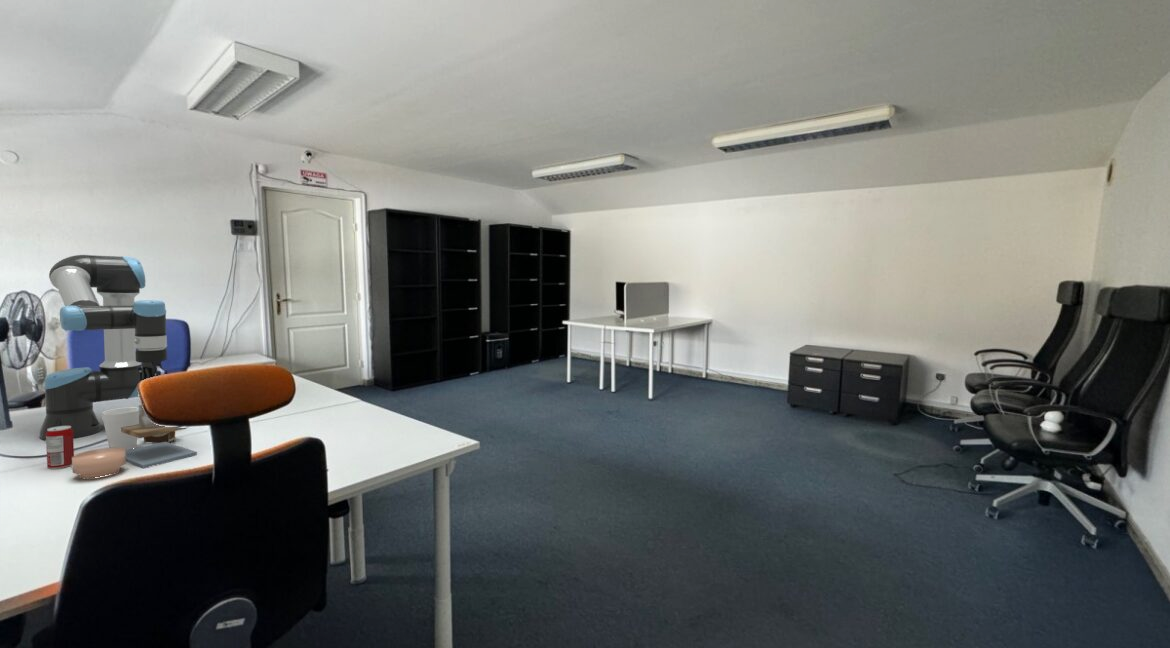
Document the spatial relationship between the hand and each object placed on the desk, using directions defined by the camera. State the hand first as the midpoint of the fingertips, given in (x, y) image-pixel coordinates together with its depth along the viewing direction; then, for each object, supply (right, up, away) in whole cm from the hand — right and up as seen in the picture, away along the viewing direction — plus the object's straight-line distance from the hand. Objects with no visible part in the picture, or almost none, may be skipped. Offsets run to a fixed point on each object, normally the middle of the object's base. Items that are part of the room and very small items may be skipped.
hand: (153, 420), depth 156 cm
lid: (0, -3, 0) cm, 3 cm away
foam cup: (-16, -11, +6) cm, 20 cm away
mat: (0, -11, +1) cm, 11 cm away
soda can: (-19, -12, -10) cm, 25 cm away
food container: (-10, -10, +16) cm, 21 cm away
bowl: (-3, -13, -15) cm, 20 cm away
